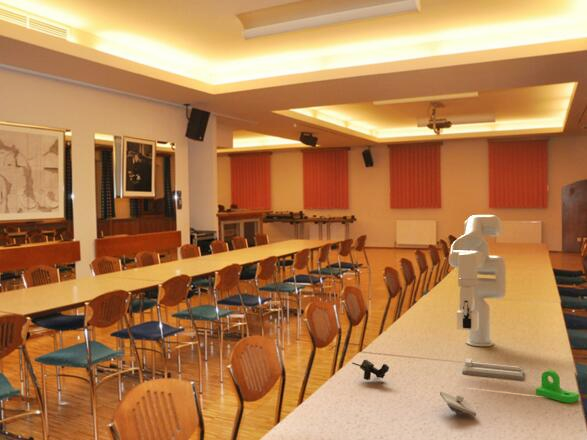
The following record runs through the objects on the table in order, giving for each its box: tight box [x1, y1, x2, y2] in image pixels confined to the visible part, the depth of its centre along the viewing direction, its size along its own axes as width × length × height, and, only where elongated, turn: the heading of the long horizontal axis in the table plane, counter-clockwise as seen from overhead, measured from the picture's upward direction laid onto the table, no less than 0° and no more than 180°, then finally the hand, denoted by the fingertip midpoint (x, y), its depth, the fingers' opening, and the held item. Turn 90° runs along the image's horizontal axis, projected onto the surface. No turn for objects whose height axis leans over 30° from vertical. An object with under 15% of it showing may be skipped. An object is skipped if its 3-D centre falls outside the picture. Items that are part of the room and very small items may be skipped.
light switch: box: [439, 391, 477, 417], centre depth 170 cm, size 9×10×5 cm
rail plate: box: [461, 357, 524, 381], centre depth 208 cm, size 10×22×4 cm, turn 66°
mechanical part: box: [535, 369, 580, 404], centre depth 181 cm, size 12×6×8 cm, turn 37°
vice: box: [351, 359, 390, 381], centre depth 201 cm, size 18×9×11 cm
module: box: [456, 309, 479, 331], centre depth 214 cm, size 5×8×7 cm, turn 64°
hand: (468, 326), depth 214 cm, fingers closed on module, 5 cm apart
